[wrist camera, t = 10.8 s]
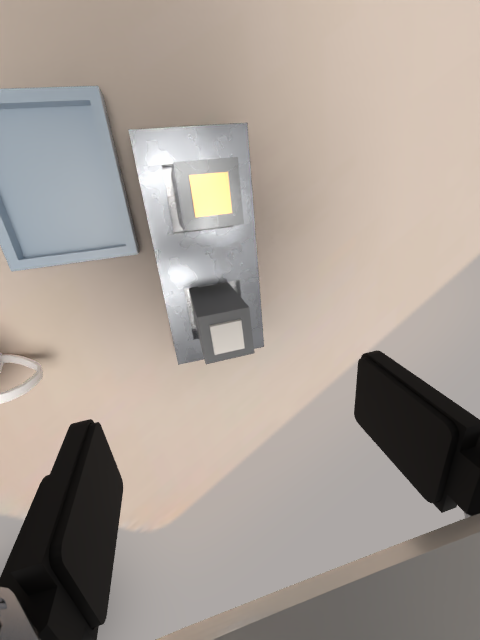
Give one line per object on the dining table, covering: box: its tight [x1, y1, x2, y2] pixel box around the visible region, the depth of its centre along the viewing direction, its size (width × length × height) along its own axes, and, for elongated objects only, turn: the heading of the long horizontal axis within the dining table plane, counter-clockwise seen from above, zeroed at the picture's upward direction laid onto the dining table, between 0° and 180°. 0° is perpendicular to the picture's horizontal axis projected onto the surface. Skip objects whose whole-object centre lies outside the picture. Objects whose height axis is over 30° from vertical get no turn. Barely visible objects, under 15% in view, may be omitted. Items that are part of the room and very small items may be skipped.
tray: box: [0, 86, 139, 271], centre depth 23 cm, size 12×10×2 cm
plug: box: [189, 282, 254, 364], centre depth 26 cm, size 4×4×8 cm
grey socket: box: [129, 123, 264, 365], centre depth 24 cm, size 20×9×9 cm, turn 6°
